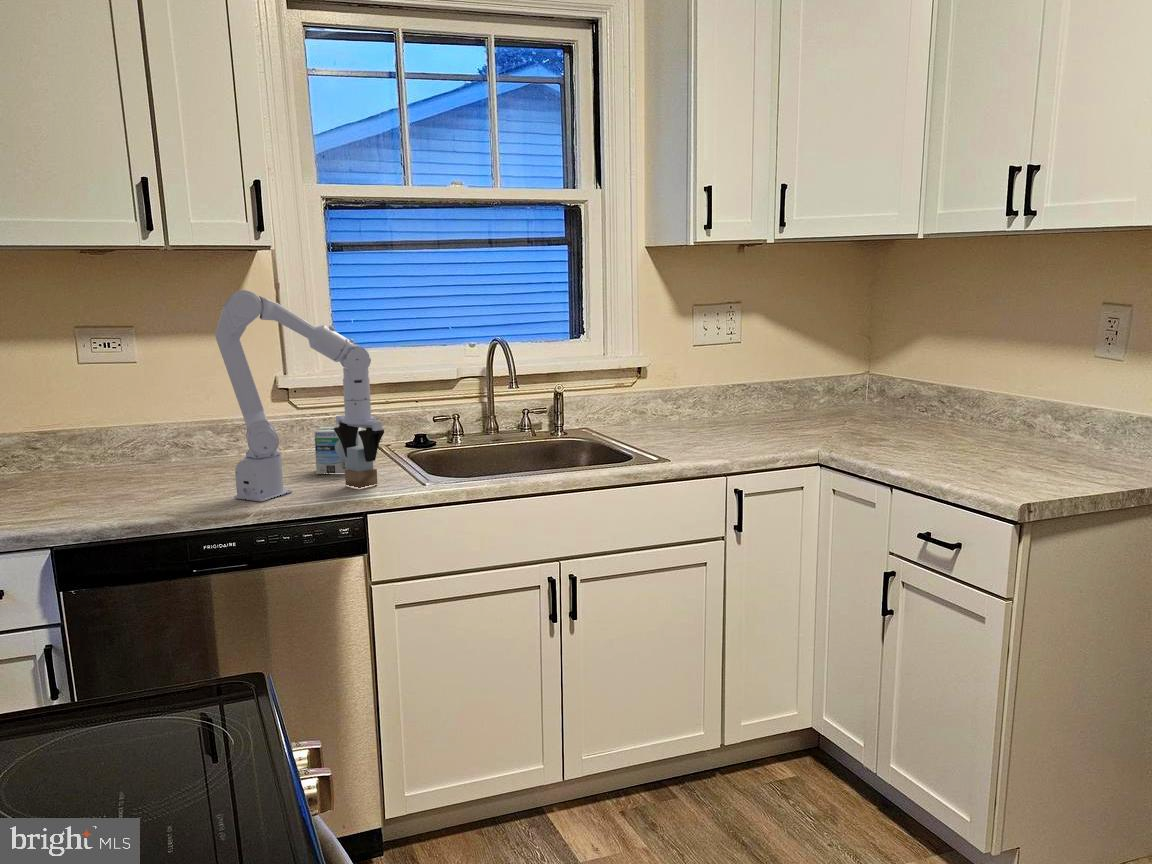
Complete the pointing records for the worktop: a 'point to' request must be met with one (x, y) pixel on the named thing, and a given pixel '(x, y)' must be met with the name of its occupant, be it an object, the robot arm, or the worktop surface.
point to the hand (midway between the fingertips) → (360, 458)
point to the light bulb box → (331, 451)
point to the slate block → (357, 459)
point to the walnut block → (361, 478)
